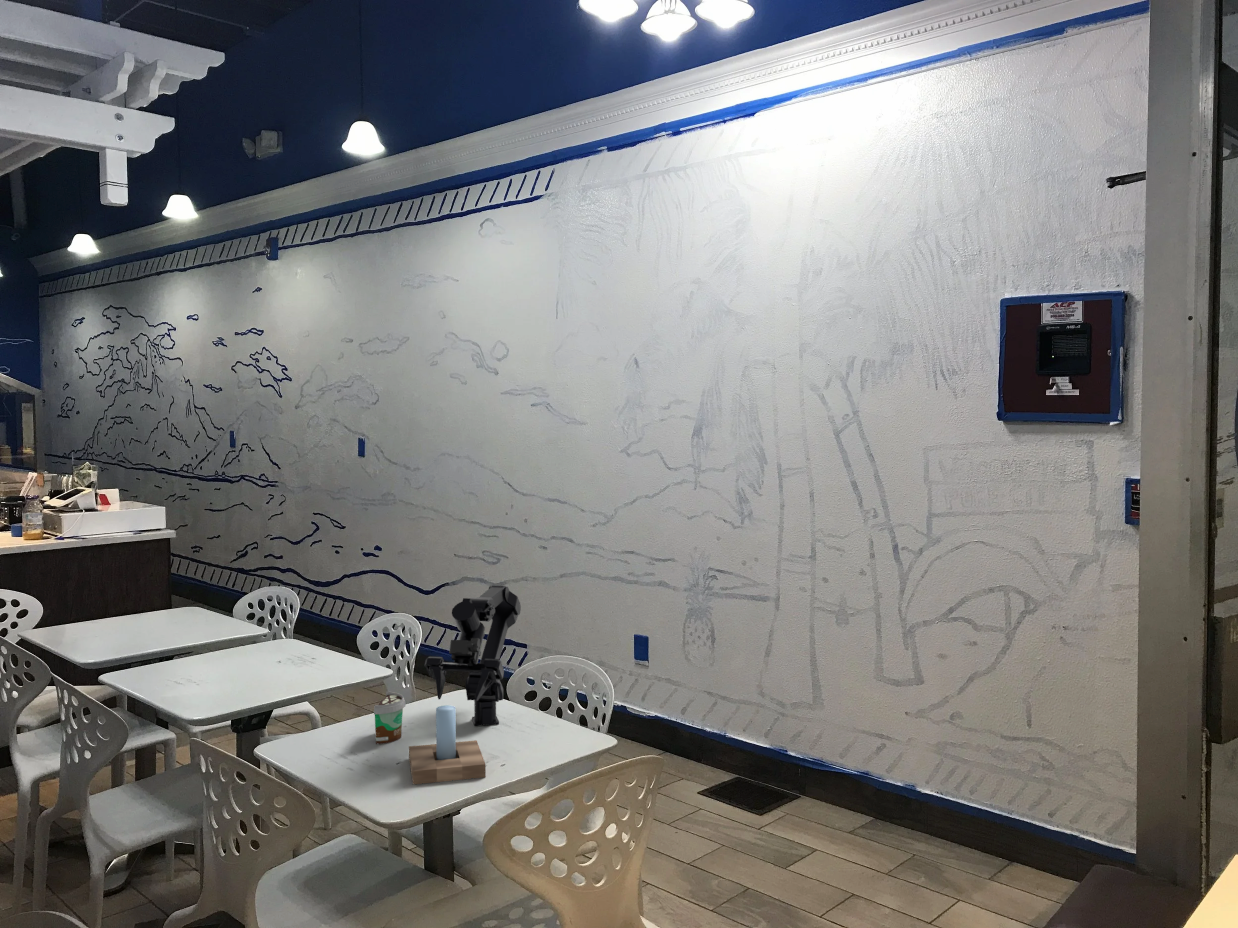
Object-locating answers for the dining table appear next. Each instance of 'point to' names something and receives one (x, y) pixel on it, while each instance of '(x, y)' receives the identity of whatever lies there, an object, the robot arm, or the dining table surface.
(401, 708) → the food container
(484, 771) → the pocket block
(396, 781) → the dining table surface
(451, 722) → the peg
